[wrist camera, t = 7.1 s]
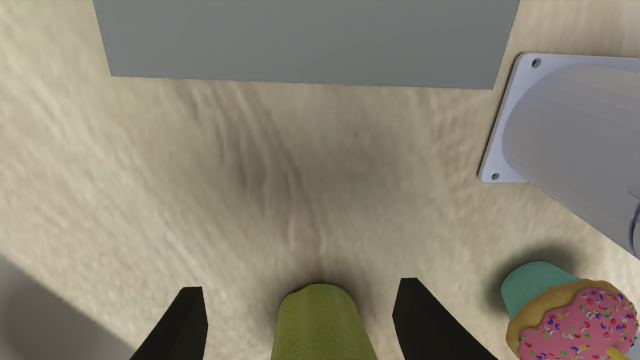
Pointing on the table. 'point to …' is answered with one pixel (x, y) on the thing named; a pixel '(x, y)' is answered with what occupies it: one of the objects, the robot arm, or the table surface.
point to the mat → (310, 40)
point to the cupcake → (566, 316)
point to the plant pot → (320, 327)
